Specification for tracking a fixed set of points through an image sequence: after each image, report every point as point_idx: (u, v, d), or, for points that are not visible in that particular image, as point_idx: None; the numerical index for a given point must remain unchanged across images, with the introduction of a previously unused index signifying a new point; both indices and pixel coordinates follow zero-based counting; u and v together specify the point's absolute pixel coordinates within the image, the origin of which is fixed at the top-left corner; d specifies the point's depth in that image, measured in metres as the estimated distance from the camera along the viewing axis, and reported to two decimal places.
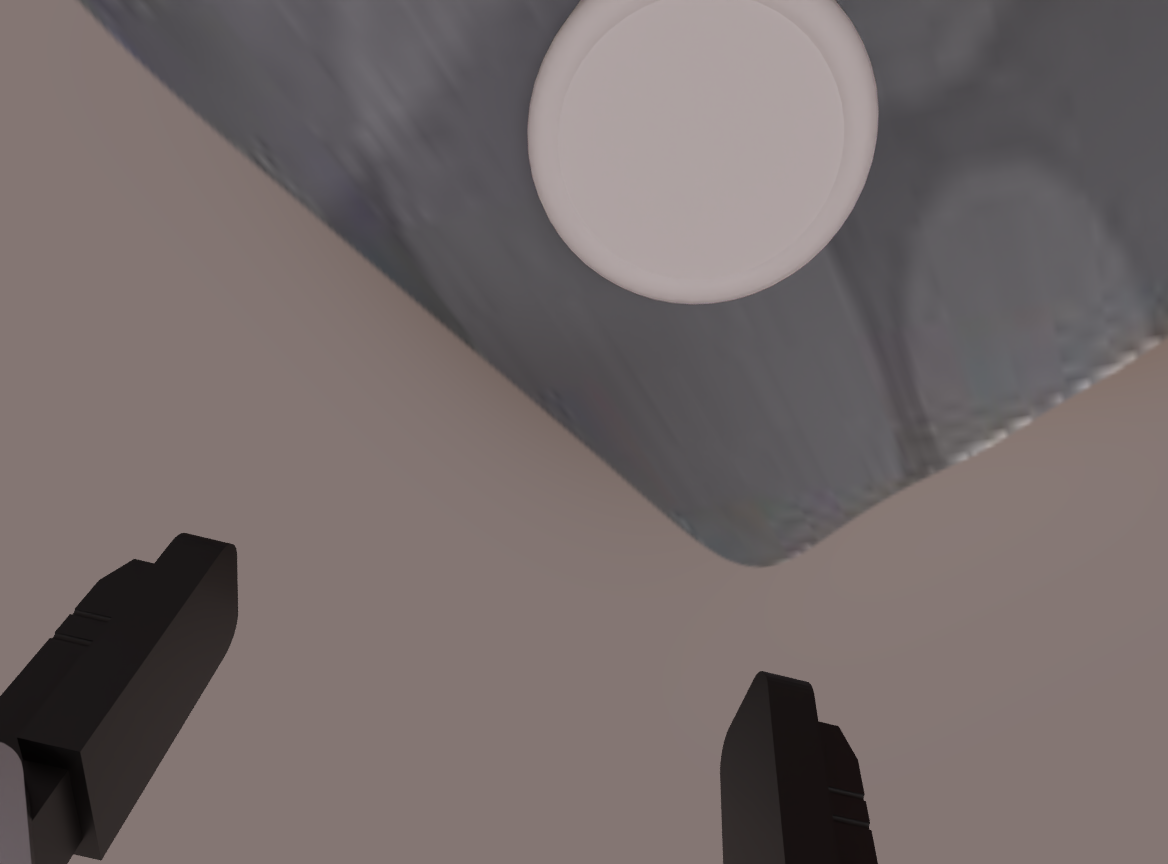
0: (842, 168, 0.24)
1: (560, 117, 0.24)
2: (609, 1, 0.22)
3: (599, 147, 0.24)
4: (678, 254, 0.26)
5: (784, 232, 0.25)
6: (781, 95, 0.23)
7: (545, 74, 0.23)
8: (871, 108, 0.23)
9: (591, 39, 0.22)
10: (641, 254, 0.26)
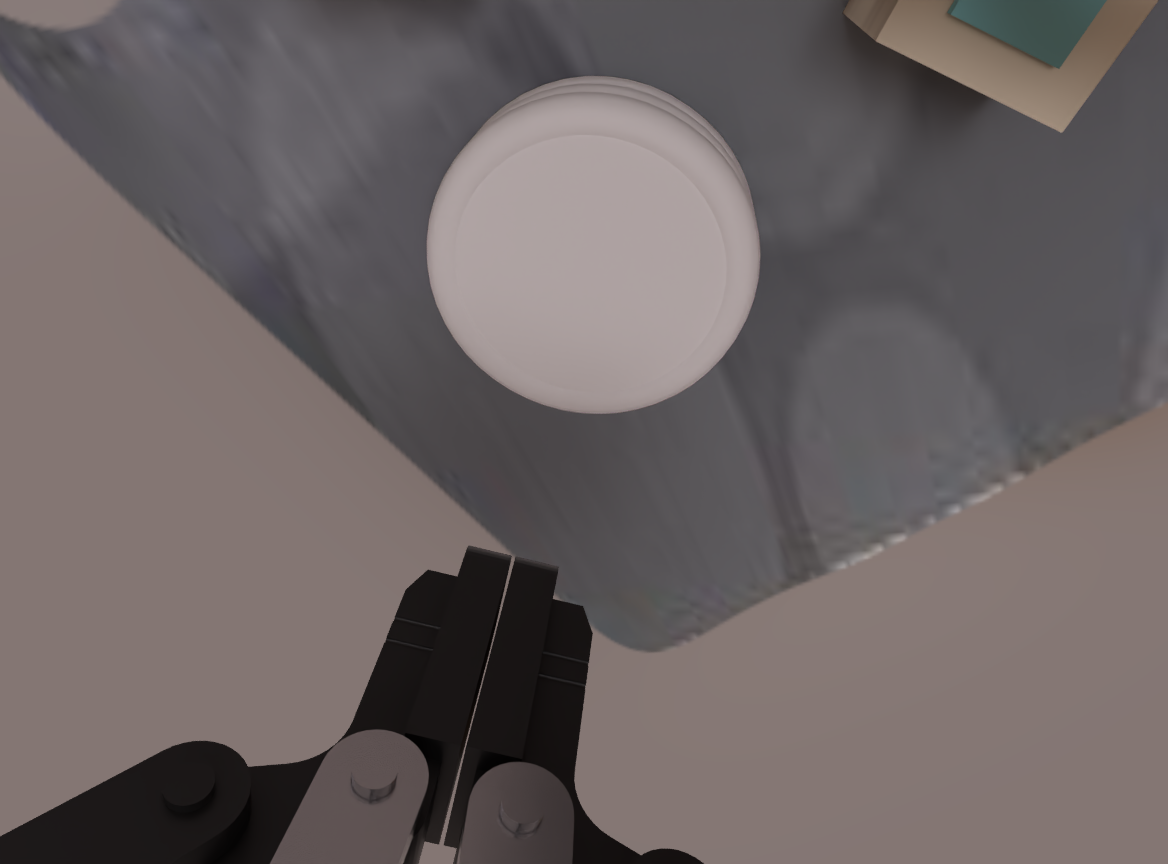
0: (724, 305, 0.25)
1: (457, 232, 0.25)
2: (507, 133, 0.23)
3: (494, 263, 0.25)
4: (568, 367, 0.27)
5: (669, 356, 0.26)
6: (668, 233, 0.24)
7: (444, 192, 0.24)
8: (752, 254, 0.24)
9: (488, 165, 0.23)
10: (532, 363, 0.27)
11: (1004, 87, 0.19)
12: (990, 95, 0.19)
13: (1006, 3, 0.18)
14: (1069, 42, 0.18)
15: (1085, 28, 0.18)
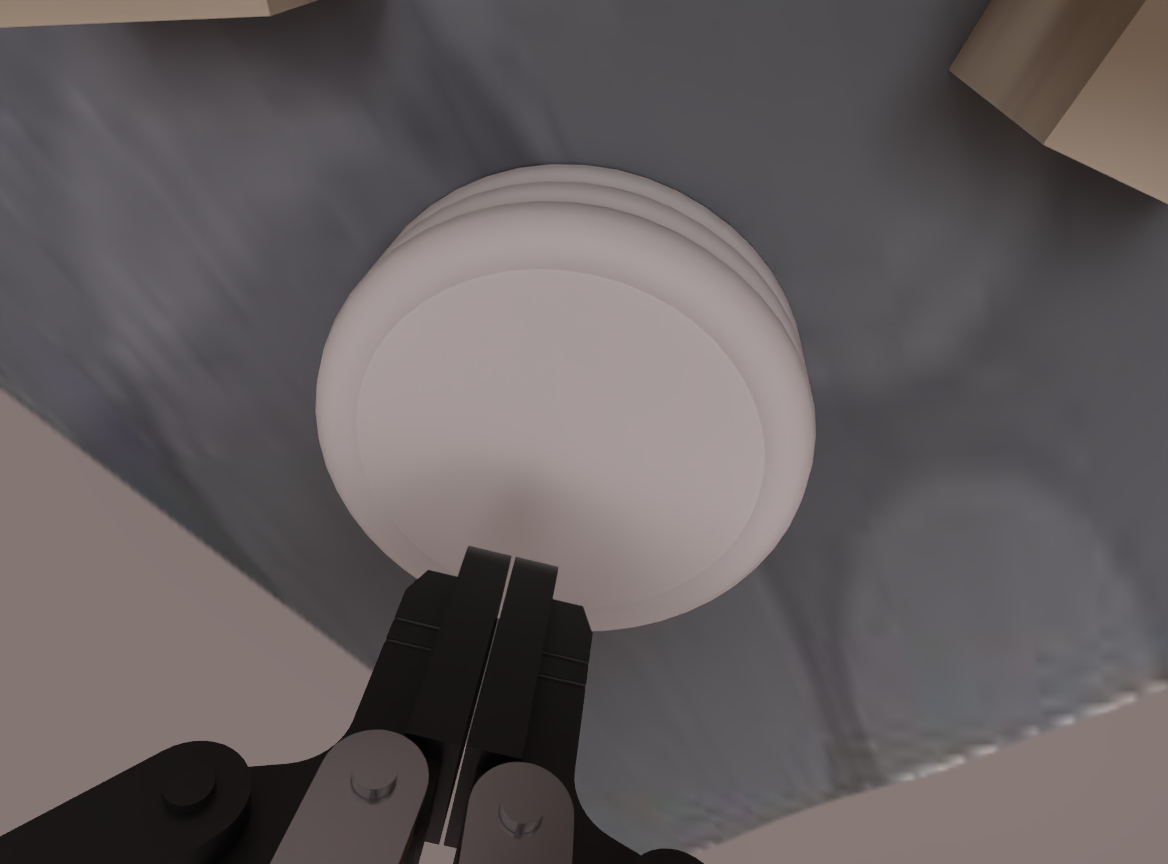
0: (760, 506, 0.16)
1: (357, 401, 0.16)
2: (422, 265, 0.15)
3: (416, 442, 0.17)
4: None
5: (677, 567, 0.18)
6: (675, 409, 0.16)
7: (333, 345, 0.16)
8: (804, 439, 0.16)
9: (396, 311, 0.15)
10: None
11: None
12: None
13: None
14: None
15: None
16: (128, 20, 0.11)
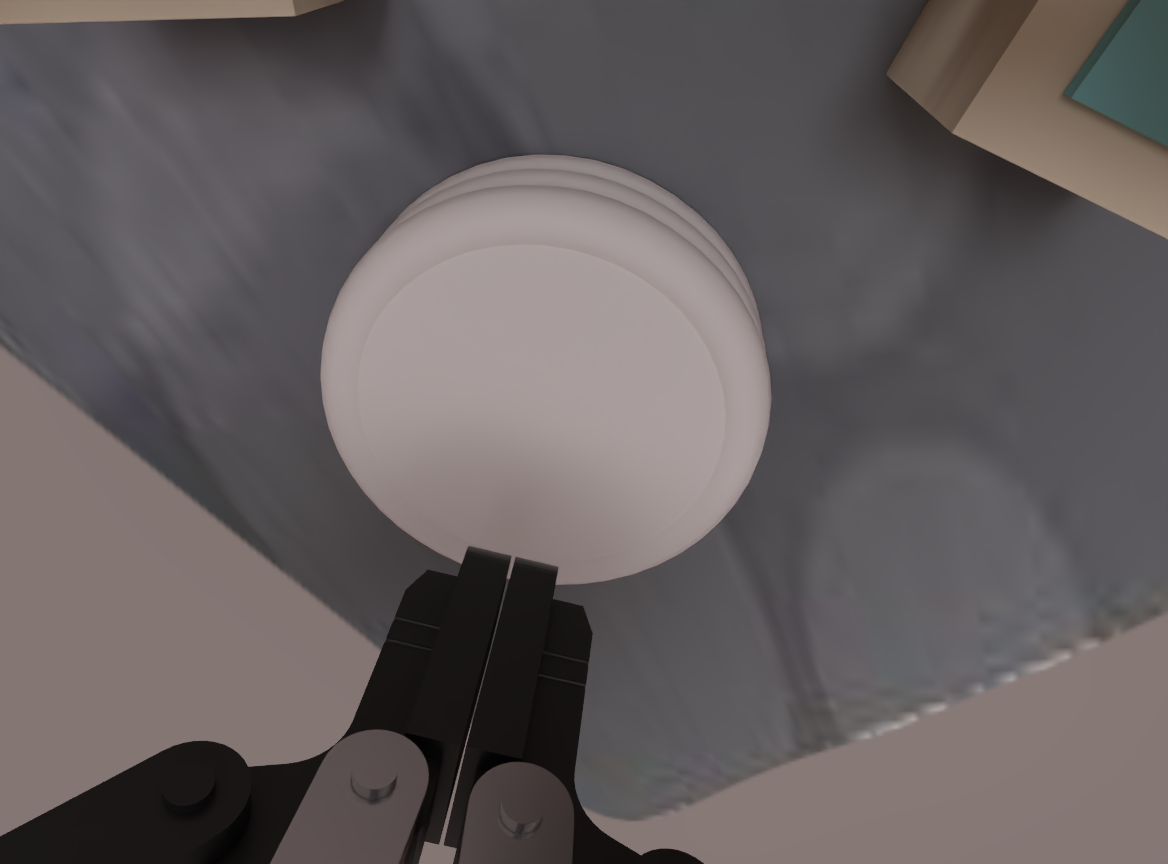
0: (721, 463, 0.18)
1: (359, 365, 0.18)
2: (421, 240, 0.16)
3: (411, 404, 0.18)
4: (514, 531, 0.20)
5: (648, 522, 0.20)
6: (646, 373, 0.17)
7: (338, 314, 0.17)
8: (760, 400, 0.18)
9: (397, 282, 0.17)
10: (467, 526, 0.20)
11: (1141, 201, 0.13)
12: (1120, 212, 0.13)
13: (1159, 82, 0.12)
14: None
15: None
16: (172, 18, 0.13)
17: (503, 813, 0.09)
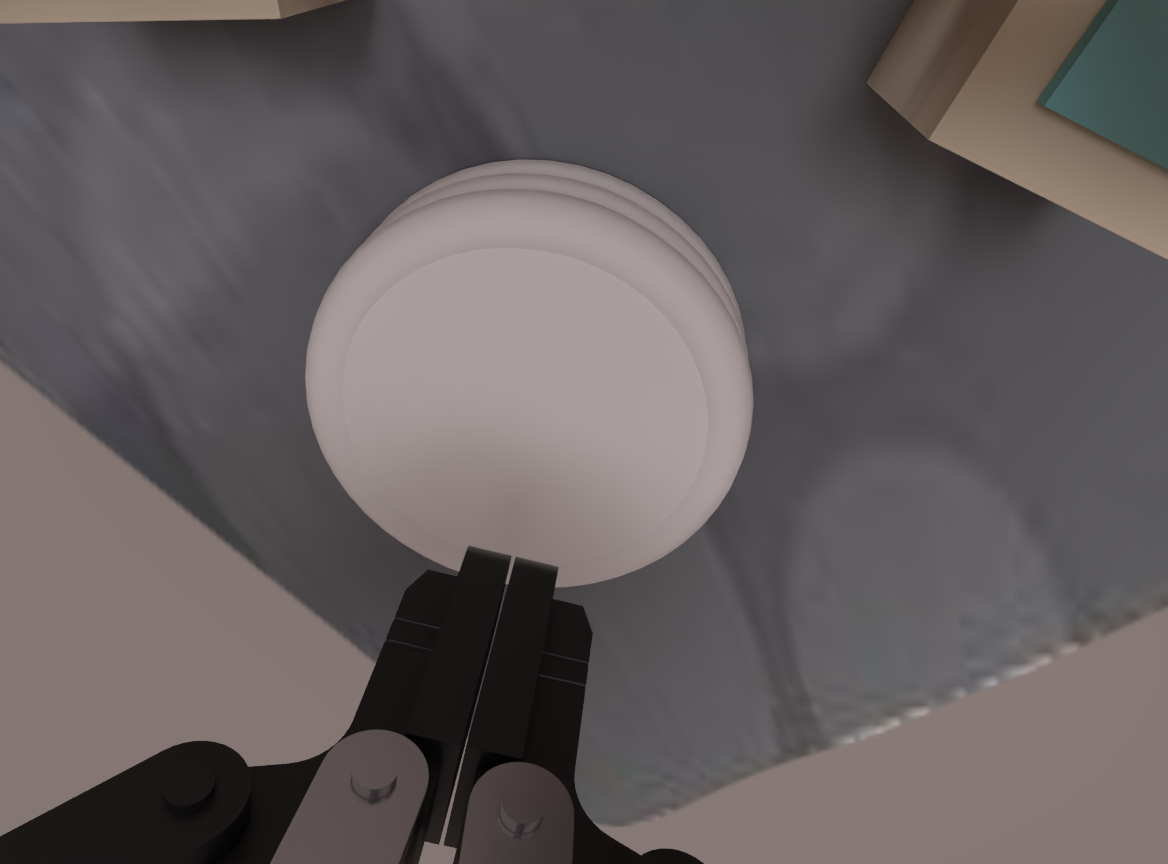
0: (704, 466, 0.18)
1: (344, 367, 0.18)
2: (406, 243, 0.16)
3: (396, 406, 0.18)
4: (498, 533, 0.20)
5: (631, 525, 0.20)
6: (628, 376, 0.18)
7: (323, 316, 0.17)
8: (742, 404, 0.18)
9: (381, 284, 0.17)
10: (452, 528, 0.20)
11: (1114, 208, 0.13)
12: (1093, 219, 0.13)
13: (1129, 92, 0.12)
14: None
15: None
16: (157, 19, 0.13)
17: (503, 813, 0.09)
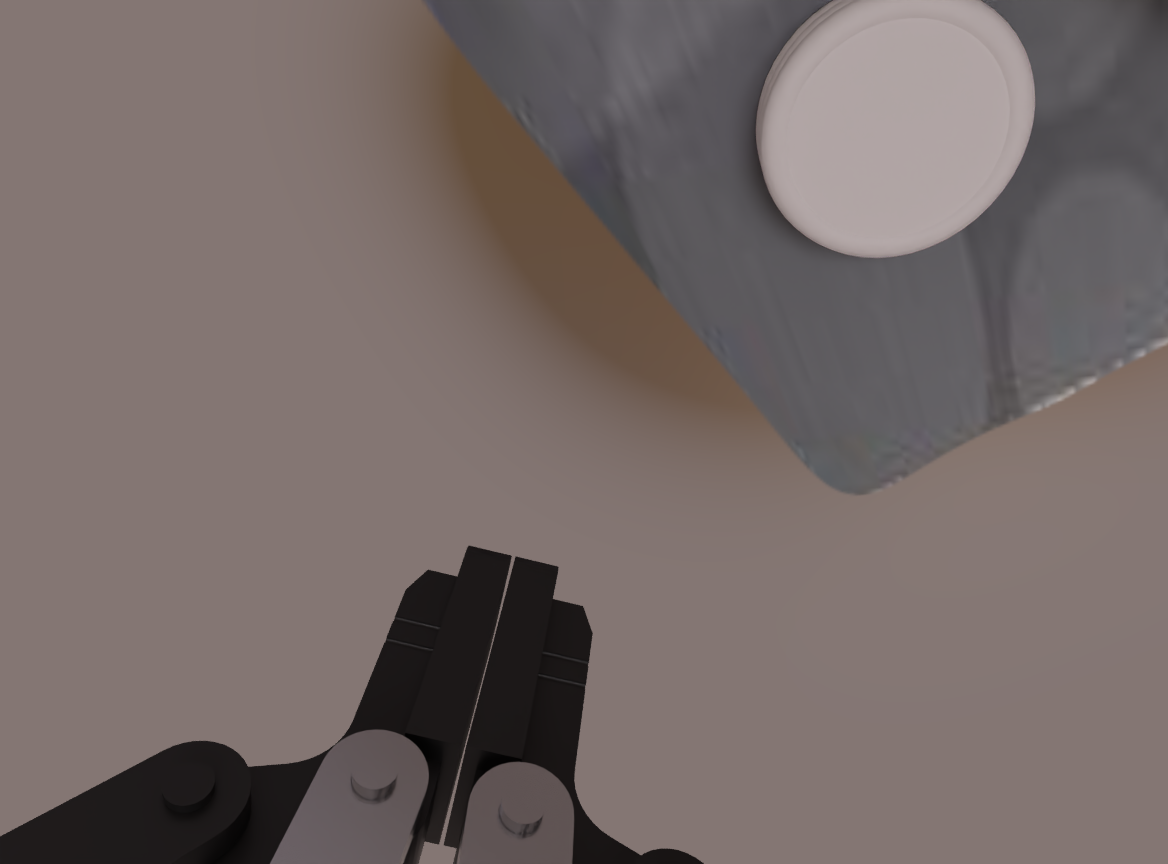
0: (1001, 159, 0.32)
1: (795, 100, 0.31)
2: (854, 17, 0.30)
3: (820, 126, 0.32)
4: (862, 215, 0.33)
5: (947, 205, 0.33)
6: (966, 99, 0.31)
7: (792, 66, 0.31)
8: (1030, 116, 0.31)
9: (834, 43, 0.30)
10: (833, 213, 0.34)
11: None
12: None
13: None
14: None
15: None
16: None
17: (503, 813, 0.09)
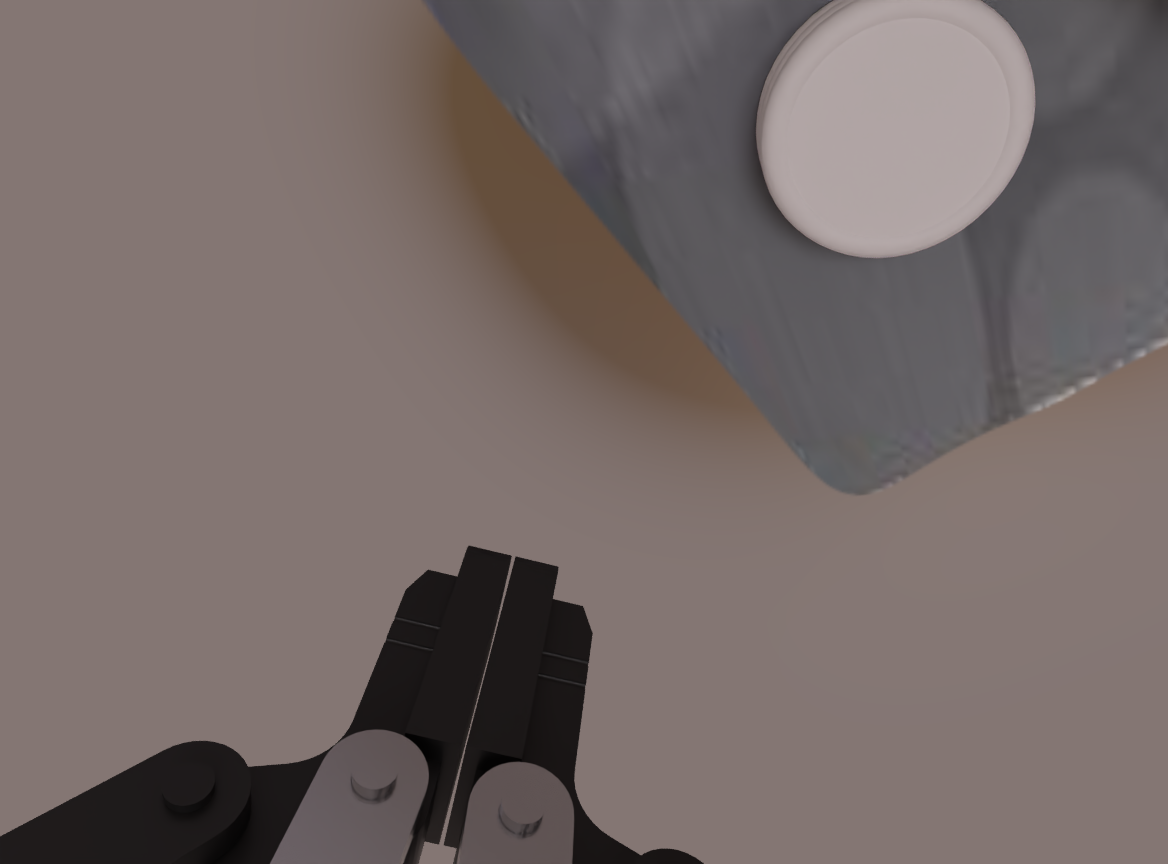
0: (1001, 159, 0.32)
1: (796, 100, 0.31)
2: (854, 17, 0.30)
3: (821, 126, 0.32)
4: (862, 216, 0.33)
5: (947, 205, 0.33)
6: (966, 99, 0.31)
7: (792, 66, 0.31)
8: (1031, 116, 0.31)
9: (835, 43, 0.30)
10: (834, 213, 0.34)
11: None
12: None
13: None
14: None
15: None
16: None
17: (503, 813, 0.09)
